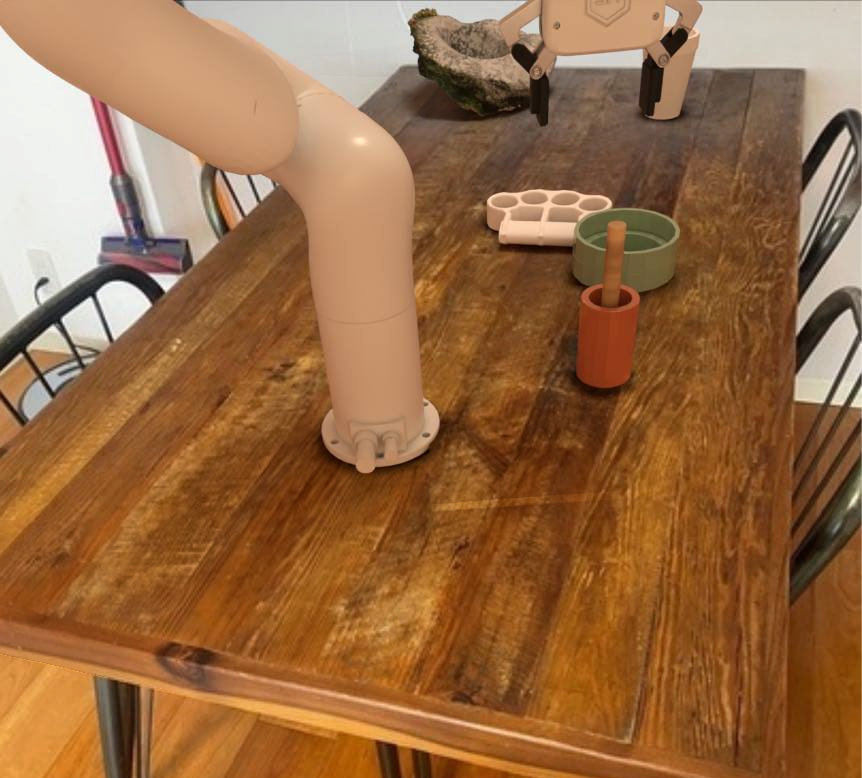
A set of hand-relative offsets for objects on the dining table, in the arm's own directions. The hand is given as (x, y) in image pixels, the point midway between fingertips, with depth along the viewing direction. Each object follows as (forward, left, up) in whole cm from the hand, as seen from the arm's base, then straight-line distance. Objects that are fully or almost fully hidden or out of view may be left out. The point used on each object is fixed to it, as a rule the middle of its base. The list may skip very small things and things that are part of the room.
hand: (593, 116), depth 79 cm
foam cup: (+81, -29, -28) cm, 90 cm away
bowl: (+22, -10, -27) cm, 36 cm away
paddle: (-2, -3, -27) cm, 27 cm away
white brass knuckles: (+37, -2, -28) cm, 46 cm away
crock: (-2, -3, -27) cm, 27 cm away
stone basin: (+99, +2, -28) cm, 103 cm away
